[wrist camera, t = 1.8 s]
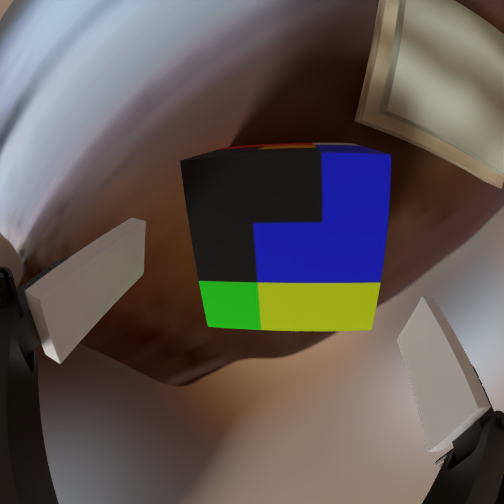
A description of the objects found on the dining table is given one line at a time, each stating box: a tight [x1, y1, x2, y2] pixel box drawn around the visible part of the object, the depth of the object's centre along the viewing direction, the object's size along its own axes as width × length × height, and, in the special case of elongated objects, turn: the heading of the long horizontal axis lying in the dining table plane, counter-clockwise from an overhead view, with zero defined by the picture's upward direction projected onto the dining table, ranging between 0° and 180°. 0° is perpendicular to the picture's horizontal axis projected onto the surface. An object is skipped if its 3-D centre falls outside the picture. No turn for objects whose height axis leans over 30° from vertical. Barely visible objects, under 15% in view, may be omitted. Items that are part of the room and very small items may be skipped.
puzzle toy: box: [180, 143, 391, 331], centre depth 18 cm, size 10×10×10 cm
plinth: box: [354, 0, 504, 189], centre depth 13 cm, size 14×14×5 cm
